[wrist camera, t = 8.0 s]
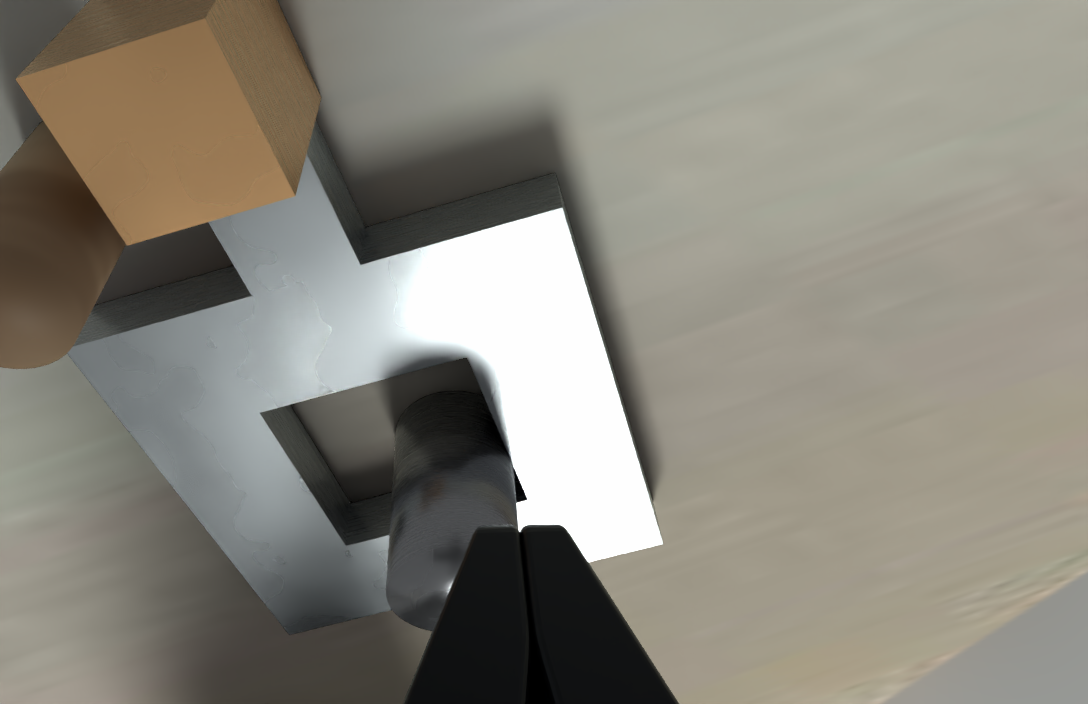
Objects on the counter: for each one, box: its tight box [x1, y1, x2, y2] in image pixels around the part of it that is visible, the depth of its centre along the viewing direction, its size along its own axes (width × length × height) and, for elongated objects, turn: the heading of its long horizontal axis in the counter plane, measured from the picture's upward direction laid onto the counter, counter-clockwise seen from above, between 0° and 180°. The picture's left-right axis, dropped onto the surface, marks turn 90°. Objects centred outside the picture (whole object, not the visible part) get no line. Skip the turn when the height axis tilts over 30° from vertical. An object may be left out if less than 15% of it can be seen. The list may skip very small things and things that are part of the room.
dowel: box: [0, 121, 126, 369], centre depth 17 cm, size 2×2×5 cm
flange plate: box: [16, 0, 663, 635], centre depth 20 cm, size 17×11×4 cm, turn 15°
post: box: [386, 391, 519, 631], centre depth 22 cm, size 3×3×5 cm
